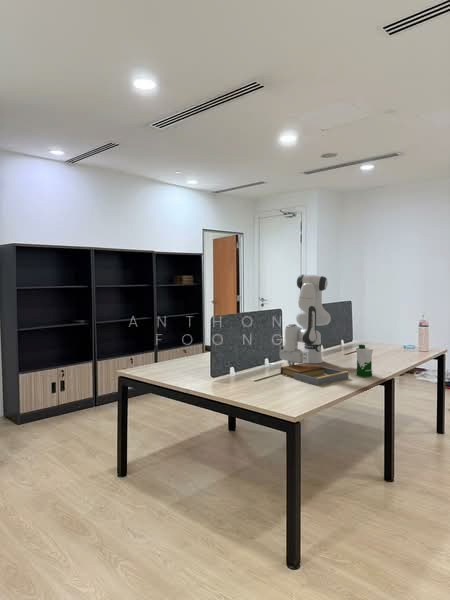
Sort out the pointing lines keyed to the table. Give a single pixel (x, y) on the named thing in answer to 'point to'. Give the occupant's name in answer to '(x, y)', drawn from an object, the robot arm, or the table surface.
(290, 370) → the diary
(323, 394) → the table surface
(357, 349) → the milk carton
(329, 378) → the bay
